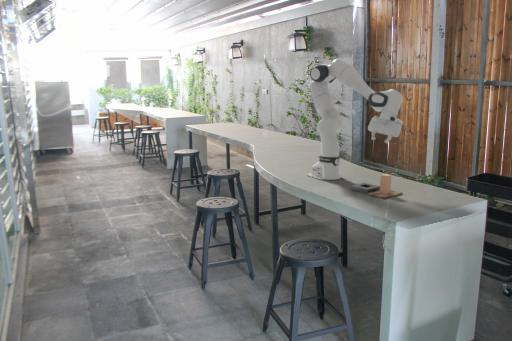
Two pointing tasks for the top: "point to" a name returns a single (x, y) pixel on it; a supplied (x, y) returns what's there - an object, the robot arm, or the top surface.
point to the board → (385, 196)
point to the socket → (365, 188)
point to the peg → (385, 183)
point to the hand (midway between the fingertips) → (379, 141)
